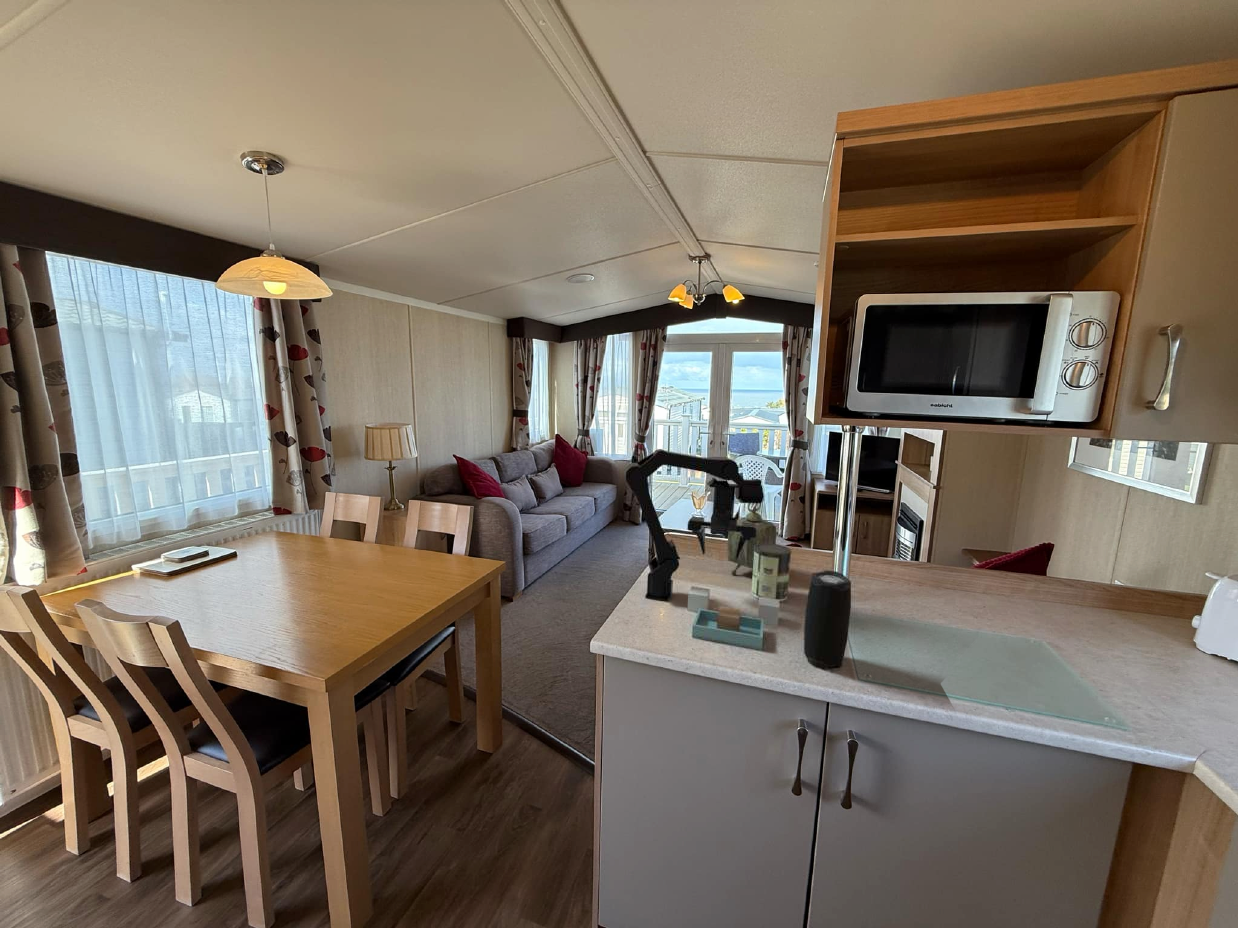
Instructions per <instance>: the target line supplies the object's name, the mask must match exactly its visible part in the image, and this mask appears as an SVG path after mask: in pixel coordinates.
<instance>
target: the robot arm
mask: <svg viewBox="0 0 1238 928" xmlns="http://www.w3.org/2000/svg"><path fill="white" fill-rule="evenodd" d="M662 466H668V467H674V468H680V469H685V470H686V469H687V470H691V471H697V472H704V473H706V474H708V475H711V476H713V477H712V478H711V480H709V481H708V482H707V483H706V484H707V486H708V487H710V488H713V504H712V513H711V516H710V521H706V520H705V518H704V517H699V516H692V517H690V518H689V520H688V522H687V530H688V531H689V532H690V531H691V533H692V534H693V535H695V536H696V537H697V538H698V539H697V540H698V541H699V544H700V545H699V546H700V548H701V552H702V555H706V529H709V531H710V534H712V535H713V536H714V535H720V536H722V537H724V536H727V537H728V534H729V531H734V532H741V535H740V539H739V543H738V548H737V553H736V559H738V556H739V554H740V551H741V549H742V547H743V545H744V543H745V542H746V540H751V538H756V533H757V525H756V524H755V523H746V522H743V524H742V526H741V525H737V520H738V518H737V517H734V511H735V510H734V509H735V500H738V502H739V503H740V504H749V503H751V504H759V505H760V504H761V505H762V503H763V501H764V496H765V495H764V488H763V485H762V483H763V482H762V480H761V479H759V478H753V479H745V478H743V476H742V475H741V474H740V472H739V471H740V469H739V464H737V462H736V461H735V460H732V459H730V458H729V457H727V456H708V457H703V456H696V455H690V454H687V453H686V454H684V453H680V452H674V451H668V450H665V449H662V448H658V449H655V450H654V451H653V452H652V453H651V454H648V455H647V456H645V457H643V458H642V459H640V460H638V461H637V462H631V463H629V464H628V465H626V466H625V469H624V470H623V473H624V474H623V475H624V478H625V482H626V483H627V485H628V487H629V488H630V490H631V492H632V493H633V494H634V496H635V498H636V499H637V501H638V504H639V507H640V510H641V513H642V515H643V518H644V520H645V522H646V526H647V528H648V530H649V534H650V536H651V539H652V541H653V542H652V543H653V549H654V554H655V556H654V557H653V558H652V559H651V560H650V561H649V562H648V563H647V564H648V569H649V570H650V571H649V573H648V574H647V583H646V584H647V585H646V594H645V595H644V598H646V599H650V600H656V601H657V600H658V601H662V602H663V601H664V602H667V601H669V600H670V598H671V597H672V595H673V589H674V580H673V579H672V577H673V574H674V573H675V572H676V571H677V570H678V569H679V566H680V561H679V560H681V557H680V555H679V553H678V551H677V547H676V544H675V542H674V540H673V539H670V540H669V541H668V539H667V538H666V535H665V533H664V530H663V528H662V525H661V522H660V519H659V517H658V514H657V512H656V508H655V506H654V503H653V499H652V498H651V495H650V488H649V482H648V478H649V477H650V476H651V475H653V474H654V473H655V472H656V471H657V470H659V469H661V467H662ZM716 478H718V479H721V480H718V479H716ZM728 481H731V482H733V483H729V482H728Z"/></svg>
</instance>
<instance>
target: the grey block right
mask: <svg viewBox="0 0 1238 928" xmlns="http://www.w3.org/2000/svg"><path fill="white" fill-rule="evenodd" d="M757 607H758V609H757V618H758V619H764V624H765V625H770V626H775V627H778V626H779V614H780V602H779V600H778V599H771V598H765V597H759V599H758V606H757ZM764 624H763V625H764Z"/></svg>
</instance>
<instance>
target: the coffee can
mask: <svg viewBox="0 0 1238 928" xmlns="http://www.w3.org/2000/svg"><path fill="white" fill-rule="evenodd" d="M791 555H792V549H791V548H790V547H788V546H785V545H781V544H777V543H776V544H771V543H761V544H757V545H755V546H754V563H753V568H752V578H751V579H752V580H751V590H750V592H751V595H752V596H753V597H755V598H757V599H758V598H759V597H765V598H771V599H778V600H779V603H780V601H781V602H783V601H786V600H787V599H788V592H789V579H790V578H789V577H790V569H791V567H790V566H791Z"/></svg>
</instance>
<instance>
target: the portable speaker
mask: <svg viewBox="0 0 1238 928" xmlns="http://www.w3.org/2000/svg"><path fill="white" fill-rule="evenodd" d="M851 589H852V581H851V580H850V579H849V578H847V576H845V575H844V574H843V573H841V572H838V571H835V570H829V569H828V570H827V569H826V570H823V571H818V572H812V573H811V580H810V584H809V589H808V592H807V593H808V595H807V597H806V598H807V599H806V607H805V617H804V618H805V619H804V626H803V627H804V628H803V653H804V655H805V657H806V659H807V662H808V663H809V664H810V665H812V666H813V667H815V668H818V669H820V670H821V669H822V670H827V669H828V668H830V667H836V666H837V667H839V668H841V667H843V662H844V658H845V652H846V647H847V643H848V637H849V627H850V620H851V619H850V618H851V608H852V590H851Z"/></svg>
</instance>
